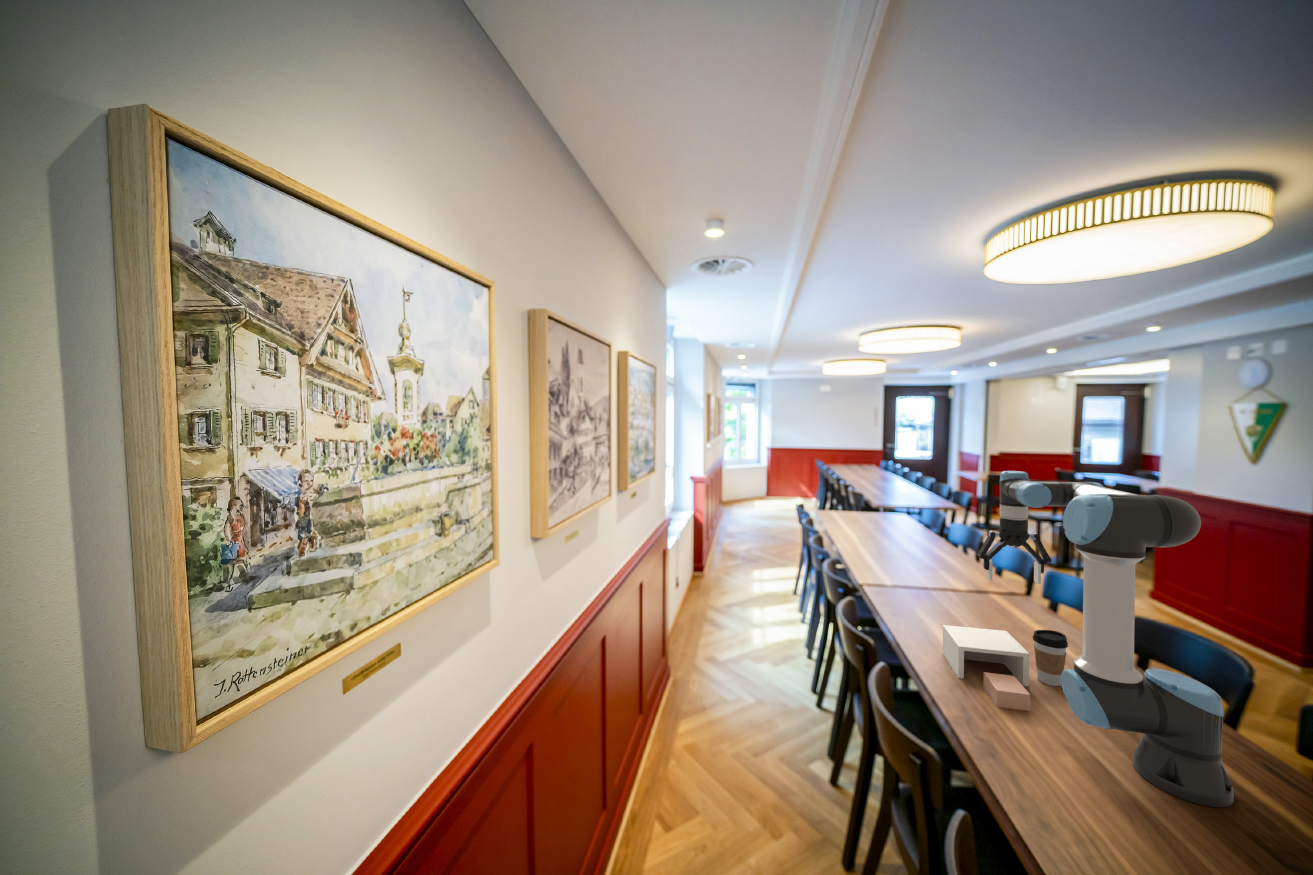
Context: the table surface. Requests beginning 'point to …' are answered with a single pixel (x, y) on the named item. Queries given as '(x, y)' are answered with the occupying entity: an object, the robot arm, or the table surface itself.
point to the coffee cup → (1050, 655)
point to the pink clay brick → (1006, 691)
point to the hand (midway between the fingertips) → (1013, 580)
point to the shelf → (984, 650)
